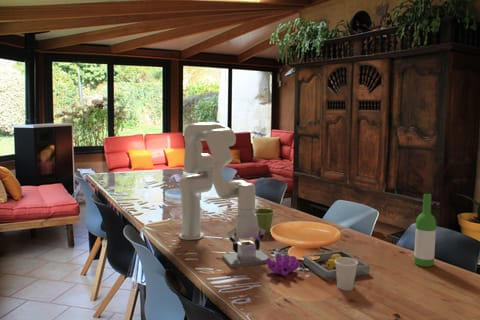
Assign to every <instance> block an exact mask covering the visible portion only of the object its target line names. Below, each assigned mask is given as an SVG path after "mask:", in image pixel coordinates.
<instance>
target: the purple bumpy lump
mask: <svg viewBox="0 0 480 320" xmlns="http://www.w3.org/2000/svg"><path fill="white" fill-rule="evenodd" d="M265 262H266V263H265V264H266V265H267V267H268V269H269V270H270V271H271V272H273V273H274V274H276V275H282V276H284V277H285V276H287V275H288V274H290V273H292V272H294V271H296V270H297V269H298V268H300V266H301V264H302V263H301V261H299V260H297V257H296V256H295V255H290V256H286V255H284V256H282V254H277V255H275V260H272V259H271V257H269V258H267V259H266V260H265Z"/></svg>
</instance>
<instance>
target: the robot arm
mask: <svg viewBox="0 0 480 320" xmlns="http://www.w3.org/2000/svg"><path fill="white" fill-rule="evenodd" d="M183 133H184V134H183V135H184V136H183V138H184V143H185V144H184V145H185V146H184V147H185V148H184V158H183V170H184V171H185V173H187V174H189V175H186V176H183V177H181V178H180V179H179V182H178V187H179V193H180V201H181V232H180V233H179V234H178V236H179V237H178V238H180V239H182V240H184V241H186V240H187V241H188V240H189V241H192V240H193V241H195V240H200V239H203V238H204V237H205V236H204V235H205V233H204V232H202V227H201V225H202V223H201V222H202V221H201V220H202V219H201V201H200V198H199V197H198V195H197V194H202V193H207V192H210V191H211V190H212V189H213V187H214V190H215V192H216V194H217V196H218V197H219V198H220V199H222V200H229V199H230V200H231V199H235V198H236V199H237V214H236V215H235V217H234V224H233V229H232V230H229V231H228V232H226V236H227V238H228V240H230V242H231V243H232V250H233V252H234V253H237V252H238V244H237V242H239V241H240V240H246V239H254V238H255V239H254V244H255V245H256V251H258V250H260V246H261V245H260V244H261V240H262V239H263V238H264V236H265V234H266V233H265V232H266V231H265V230H264V229H262V228H260V227H258V220H257V215H256V212H257V211H258V209H259V208H257V207H256V185H255V184H254V183H251V182H247V181H245V180H243V179H236V180H228V181H225V179H224V175H223V168H224V167H226V166H227V165H228V164H230V163H231V162H232V161H233V159H234V157H233V155H232V152H231V150H230V147H232V146H233V147H234V145H235V144H236V140H237V136H236V134H235V131H234V130H232V129H231V128H230V127H228V126H225V125H223V124H221V123H218V122H196V123H190V124H188V125H187V126H185V129H184V131H183ZM201 141H202V142H203V141H204V142H205V141H206V144H207V146H208V149H209V151H210V154H209V153H203V144H202V142H201ZM259 231H261V233H259ZM232 235H233V236H234V237H232Z"/></svg>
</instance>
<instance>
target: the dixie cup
mask: <svg viewBox="0 0 480 320" xmlns="http://www.w3.org/2000/svg"><path fill="white" fill-rule="evenodd" d="M357 264H358V261H357V260H355V259H352V258H348V257H340V258H336V259H335V266H336V267H335V269H336V276H337V279H336V283H337V284H336V285H337V288H338V289H340V290H342V291H351V290H353V289H354V286H355V280H356V279H355V278H356V276H355V274H356V268H357Z"/></svg>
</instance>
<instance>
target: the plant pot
mask: <svg viewBox="0 0 480 320" xmlns="http://www.w3.org/2000/svg"><path fill="white" fill-rule="evenodd" d="M274 213H276V212H275V210H274V209H272V208H264V207H262V208H258V211H257V212H256V215H257V220H258V227H260V228H262V229H264V230H265V231H266V232H265V234H268V233H270V232H271V227H272V221H273V217H274ZM259 234H261V231H259Z"/></svg>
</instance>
